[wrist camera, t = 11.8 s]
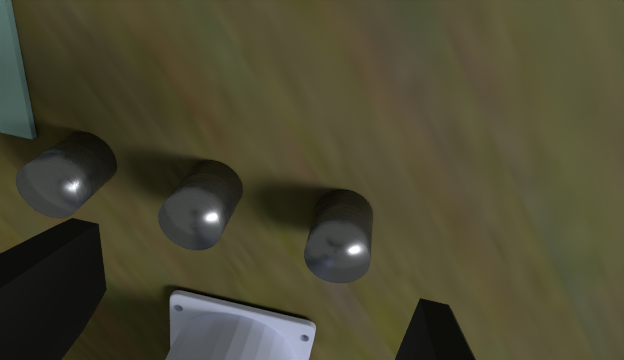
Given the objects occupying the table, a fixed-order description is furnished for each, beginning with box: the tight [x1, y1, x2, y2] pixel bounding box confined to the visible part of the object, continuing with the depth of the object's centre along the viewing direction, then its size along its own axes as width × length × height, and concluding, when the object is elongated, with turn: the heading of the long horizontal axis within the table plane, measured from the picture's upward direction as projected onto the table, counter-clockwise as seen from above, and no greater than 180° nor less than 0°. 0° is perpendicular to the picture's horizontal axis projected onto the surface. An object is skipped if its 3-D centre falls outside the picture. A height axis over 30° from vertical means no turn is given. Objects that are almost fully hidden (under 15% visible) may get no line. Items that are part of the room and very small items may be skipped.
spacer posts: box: [16, 132, 373, 283], centre depth 16 cm, size 15×15×3 cm
